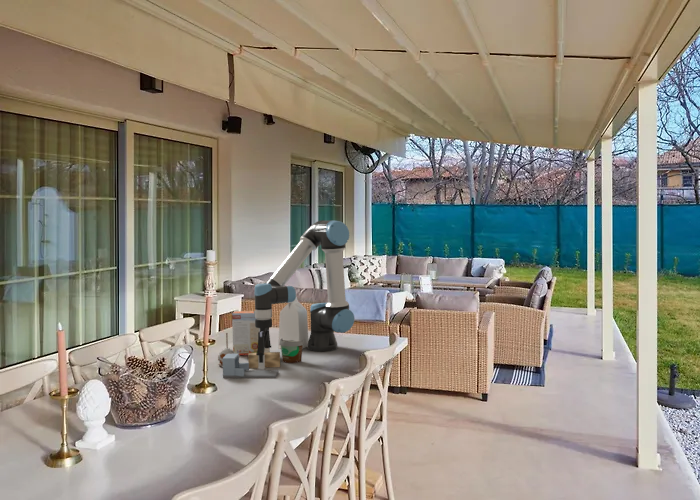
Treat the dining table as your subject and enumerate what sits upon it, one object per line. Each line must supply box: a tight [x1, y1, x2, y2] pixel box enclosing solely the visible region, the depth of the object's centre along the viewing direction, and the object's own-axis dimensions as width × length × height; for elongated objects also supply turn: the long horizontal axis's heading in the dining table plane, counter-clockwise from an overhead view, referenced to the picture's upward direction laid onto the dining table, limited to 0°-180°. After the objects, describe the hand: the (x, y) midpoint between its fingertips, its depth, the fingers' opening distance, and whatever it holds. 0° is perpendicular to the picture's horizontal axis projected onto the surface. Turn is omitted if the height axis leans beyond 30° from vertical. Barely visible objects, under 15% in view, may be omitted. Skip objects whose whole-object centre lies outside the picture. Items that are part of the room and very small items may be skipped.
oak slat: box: [247, 351, 281, 369], centre depth 274 cm, size 14×4×6 cm, turn 97°
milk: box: [277, 295, 309, 350], centre depth 312 cm, size 12×12×26 cm
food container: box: [278, 338, 304, 364], centre depth 282 cm, size 12×6×10 cm, turn 62°
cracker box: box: [231, 310, 260, 356], centre depth 297 cm, size 14×6×21 cm, turn 84°
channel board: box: [222, 354, 279, 379], centre depth 260 cm, size 22×11×8 cm, turn 88°
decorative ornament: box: [217, 332, 235, 368], centre depth 276 cm, size 8×8×15 cm
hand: (264, 365), depth 275 cm, fingers open, 12 cm apart
